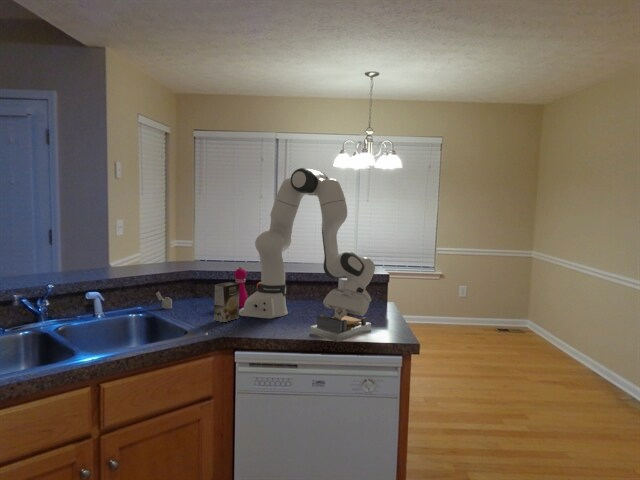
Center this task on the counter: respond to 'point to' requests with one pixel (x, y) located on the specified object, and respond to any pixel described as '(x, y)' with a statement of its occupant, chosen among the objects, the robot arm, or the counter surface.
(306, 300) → the counter surface
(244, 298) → the pepper mill
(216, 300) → the coffee box
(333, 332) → the grey and white fixture
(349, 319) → the tan flat panel
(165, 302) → the lighter
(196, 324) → the counter surface
